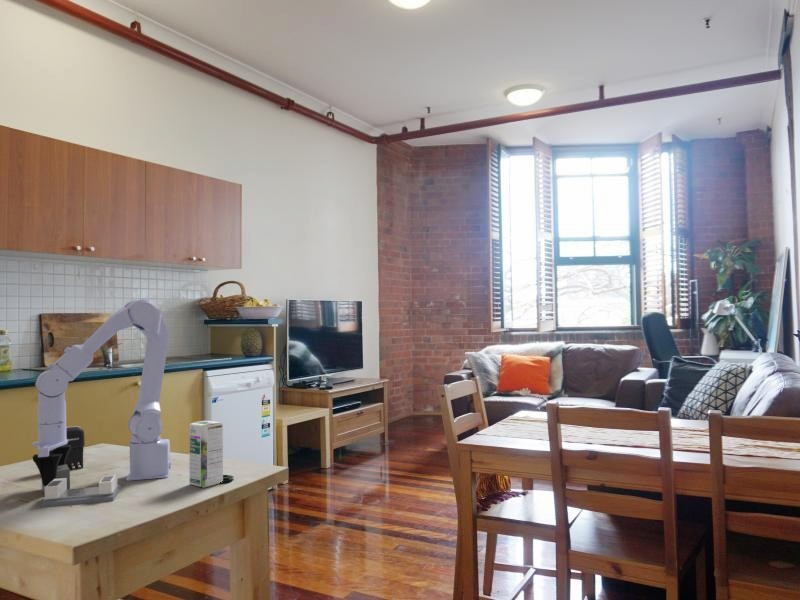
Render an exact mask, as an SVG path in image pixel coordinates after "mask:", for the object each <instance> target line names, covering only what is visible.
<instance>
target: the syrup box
mask: <svg viewBox="0 0 800 600" xmlns="http://www.w3.org/2000/svg"><path fill="white" fill-rule="evenodd" d="M188 429H189V430H188V431H189V432H188V433H189V437H188V438H189V445H188V446H189V457H188V458H189V460H188V461H189V462H188V463H189V464H188V465H189V476H188V477H189V483H188V484H189V485H190V486H192V485H193V486H195V487H201V488H203V489H204V488H208V487H212V486H215V485H219V484H221V483H223V482H224V454H223V453H224V450H223V449H224V443H223V442H224V441H223V440H224V438H223V437H224V434H223V433H224V430H223V429H224V423H223V422H220V421H213V420H199V421H198V420H197V421H195V422H192V423H189V427H188ZM222 481H223V482H222ZM220 482H221V483H220Z"/></svg>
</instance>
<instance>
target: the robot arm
mask: <svg viewBox="0 0 800 600" xmlns="http://www.w3.org/2000/svg"><path fill="white" fill-rule="evenodd" d="M132 327H135V328H137V329H139V331H140V332H141V333H142V334H143V335H144V336H145V338H146V339H147V340H146V345H145V346H146V347H145V352H144V359H143V365H142V374H141V378H140V386H139V392H138V398H137V401H136V404H135V405H134V409H133V412H132V415H131V416H130V417H129V419H128V423H127V428H128V430H129V432H130V433H131V434H132V435H131V436H130V438H129V473H128V476H126V478H125V481H127V482H130V481H141V480H151V479H163V478H168V477H169V474H170V472H171V470H172V469H171V468H172V462H171V443H170V439H168V438H165V439H164V438H161V437H162V435H161V434H162V433H163V432H162V431H163V422H162V420H161V414H162V410H161V405H160V401H161V400H160V399H161V392H162V386H163V379H164V374H165V368H166V367H165V366H166V361H167V359H166V358H167V354H168V346H169V340H170V330H169V328H168V326H167V323H166V320H165V319H164V317H163V315H162V310H161V308H159V307H158V306H157V305H156V304H155V303H154V302H153V301H152V300H150V299H144V298H143V299H142V298H141V299H135V300H131V301H128V302H127V303H126V304H124V307H121V308H120V309H118V310H117V311H115V312H114V313H113V314H112V315H110V317H108V319H106V320H105V322H104V323H103V324H101V325H100V326H99V328H98V329H97V330H95V331H94V333H93V334H91V336H90V337H88V339H86V341H84V343H83V344H73V345H71V347H69V346H67V347H66V348H65V349H64V350H63V352H64V354H62V355H61V356H60V357H59V358H58V359H57V360H56V361H55V362H54V363H49V364H48V365H47V368H48V370H45V371H43V372H41V373H40V374H39V375H38V377H37V380H36V382H35V383H34V385H35V387H36V390H37V391H38V395H37V401H38V403H37V441H33V442H32V444H31V446H32V447H34V448H35V447H37V454H34V455H32V461H33V462H34V463H35V465H36V467H37V469H38V472H39V474H40V479H41V483H42V482H43V485H44V486H47V485H48V484H49V483H50V482H51V481H52V480H54V479H56V474H57V468H58V466H59V465H65V462H66V458H67V455H68V453H69V451H70V449H71V445H66V444H67V443H68V440H67V435H66V427H67V401H66V391H67V390H68V386H69V382H73V381H74V380H75V379H76V378H77V377H78V376H79V375H80V374H81V373H82V372H83V371H84V370H85V369H87V367H89V366H90V365H91V364H92V363H93V361H94V353H95V352H96V351H98V350H99V349H100V348H101V347H102V346H104V345H105V343H106V342H108V341H109V340H110V339H111V338H113V336H114V335H116V334H117V333H118V332H119V331H122V330H125V329H129V328H132Z"/></svg>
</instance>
